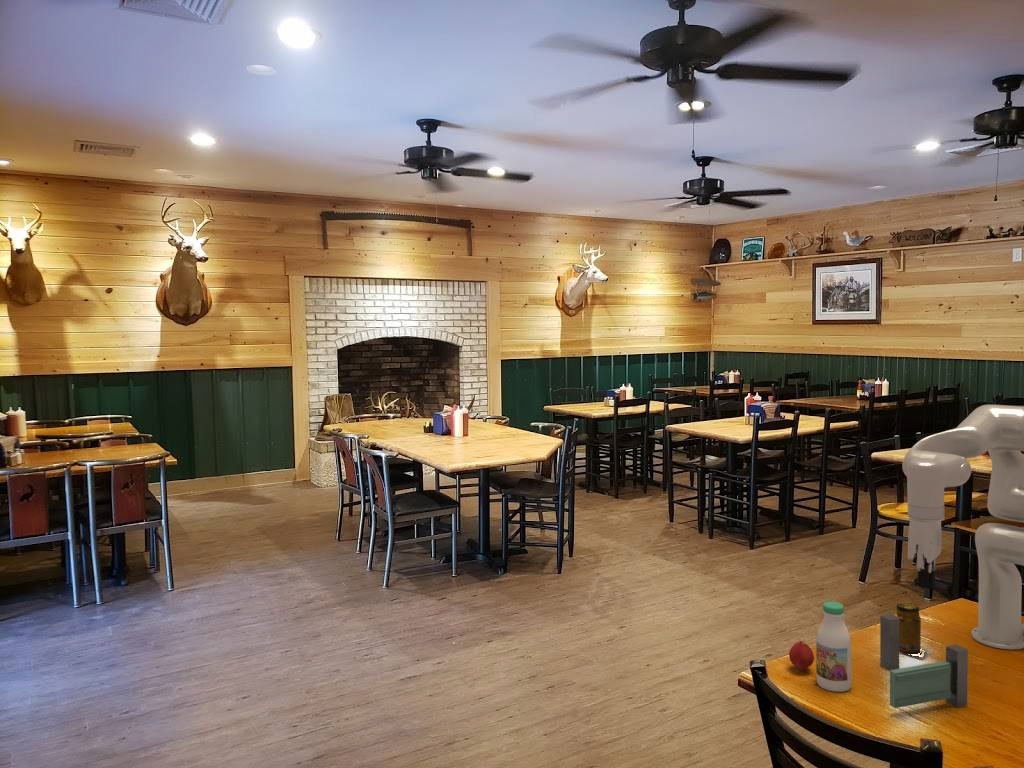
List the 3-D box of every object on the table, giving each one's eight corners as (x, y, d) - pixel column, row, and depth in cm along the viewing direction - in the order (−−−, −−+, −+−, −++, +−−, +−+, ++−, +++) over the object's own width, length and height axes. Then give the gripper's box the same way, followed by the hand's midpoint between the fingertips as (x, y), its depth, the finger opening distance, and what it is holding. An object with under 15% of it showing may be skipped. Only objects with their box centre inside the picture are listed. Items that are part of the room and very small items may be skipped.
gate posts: (889, 663, 187) (889, 613, 186) (967, 705, 166) (967, 649, 165) (880, 665, 186) (880, 615, 185) (957, 707, 165) (957, 651, 164)
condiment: (900, 641, 199) (900, 598, 198) (933, 651, 192) (934, 607, 191) (888, 650, 194) (888, 606, 193) (922, 660, 188) (922, 615, 187)
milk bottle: (824, 674, 183) (823, 596, 181) (856, 684, 177) (856, 603, 175) (811, 685, 177) (810, 605, 176) (843, 696, 172) (843, 613, 170)
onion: (785, 665, 188) (785, 635, 187) (806, 664, 188) (806, 633, 188) (795, 676, 182) (795, 645, 181) (818, 674, 182) (818, 643, 182)
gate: (944, 694, 167) (944, 660, 166) (951, 699, 165) (952, 664, 164) (889, 704, 163) (890, 670, 163) (896, 709, 162) (896, 674, 161)
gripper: (918, 501, 180) (919, 574, 182) (897, 517, 170) (899, 593, 171) (952, 506, 175) (953, 580, 177) (934, 522, 164) (935, 601, 166)
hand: (926, 586), depth 174 cm, fingers closed
